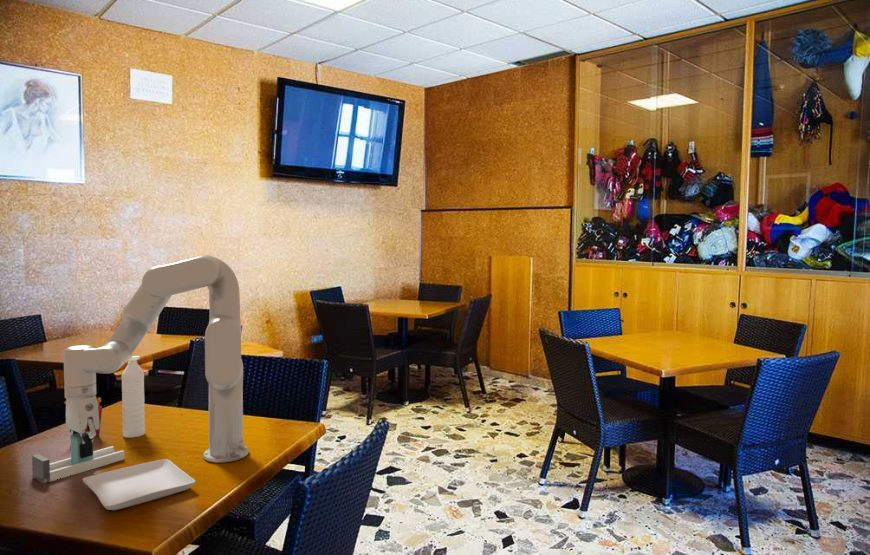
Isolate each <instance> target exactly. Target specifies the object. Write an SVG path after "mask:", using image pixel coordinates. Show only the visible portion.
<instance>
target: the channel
mask: <svg viewBox="0 0 870 555" xmlns="http://www.w3.org/2000/svg"><path fill="white" fill-rule="evenodd" d="M124 460H125V450H123V449H122V450H120V451H119V450H118V451H115V447H114V445H112V446H108V447H104V448H101V449H97V450H93V459H91V460H87V461H84V462H81V463H77V464H72V463H71V457H68V458H65V459H61V460H57V461H54V462H50V459H49V458H47V457H46V456H43V455H41V454H40V453H37V454H36V453H35V454H33V455H31V461H32V462H31V465H32V467H31V468H32V470H31V471H32V478H33V477H34V478H33V479H35V480H36V479H37V481H38V482H39V483H42V485H44V484H47V482H48V483H50V482H54V481H58V480H60V478H61V479H64V478H68V477H70V475H71V476H74V475H77V474H80V473H83V472H87V471H89V470H90V471H91V470H93V469H97V468H100V467H103V466H107V465H109V464H110V465H111V464H113V463H117V462H120V461H124ZM57 479H58V480H57Z"/></svg>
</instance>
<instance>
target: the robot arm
mask: <svg viewBox="0 0 870 555" xmlns="http://www.w3.org/2000/svg"><path fill="white" fill-rule="evenodd" d="M234 272H235V271H233V269H232V268H231V267H230V266H229V265H228V264H227V263H226V262H224V261H223V260H221V259H220V258H218V257H215V256H212V255H208V254H207V255H206V254H205V255H204V254H203V255H199V256H197V257H192V258H189V259H185V260H184V259H183V260H180V261H177V262H174V263H169V264H165V265H164V264H163V265H156V266H153V267H151V268H149V269H148V270H146V272H145V273H144V274H143V276H142V279H141V284H140V285H139V287H138V288H137V290H136V291H135V293H134V294H133V295H132V297H131V298H130V300H129V301H128V303H126V305H125V307H124V308H123V312H122V314H123V315H122V318H121V321H120V322H119V324H118V326H117V328H116V329H115V331H114V332H113V334H112V335H111V336H110V338H109V339H108V341H107V342H106V343H105V344H104V345H103V346H100V347H97V348H95V347H94V346H93V345H89V344H88V345H87V344H86V345H85V344H81V345H80V344H79V345H72V346H69V347H66V348H65V349H64V351H63V377H64V378H63V379H64V380H63V381H64V387H63V388H64V398H65V401H66V404H65V425H66V428H67V429H69V433H70V435H72V434H76V433H80V439H81V444H80V458H85V457H89V456H92V455H93V451H94V439H95V438H94V436H96V432H95V430H98V429H99V427H100V428H101V425H100V426H99V412H98V404H97V399H98V398H97V374H113V373H115V372H117V371H118V370H119V369H120V368H121V367H123V365H125V364H126V363H128V362H129V359H131V358H130V357H132V356H133V354H134V352H135V351H136V349H137V347H138V346H139V344H140V343H141V342H142V341H143V338H144V337H145V335H146V334H147V332H148V331H149V330H150V328H152V326H153V325H154V323H155V322H156V320H157V319H158V317H159V316H160V314H161V312H162V311H163V309H164V308H165V306H166V305H167V303H168V302H169V301H170V299H171V298H172V296H175V295H179V294H182V293H186V292H190V291H193V290H198V289H202V288H205V287H206V288H207V289H208V297H209V298H208V305H209V317H208V318H209V321H208V325H207V327H206V329H205V333H204V365H205V366H204V370H205V371H204V372H205V374H204V375H205V379H206V381H207V383H208V449H206V450H205V451H203V459H204V460H205V461H207V462H210V463H231V462H235V461H238V460H241V459H244V458H245V457H246V456H247V455H248V454H249V451H250V449H249V448H248V447H247V446H245V440H244V422H243V421H244V420H243V419H244V407H243V406H244V404H243V402H244V400H243V399H244V398H243V395H244V393H243V392H244V390H243V389H244V388H243V387H244V386H243V385H244V382H243V381H244V363H243V359H242V333H243V332H242V331H243V330H242V323H241V322H242V321H241V301H240V300H241V299H240V284H239V281H238V278H237V276H236V274H235V273H234ZM86 429H88V431H86V432H85V430H86ZM85 434H88V435H86V436H85V438H84V435H85ZM93 438H94V439H93Z"/></svg>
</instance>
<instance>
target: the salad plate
mask: <svg viewBox="0 0 870 555" xmlns="http://www.w3.org/2000/svg"><path fill="white" fill-rule="evenodd" d="M82 481H83V483H84V484H85V485H86V486H87V487H88V488H89V489H90V490H91V491H92V492H93V493H94V494H95V495H96V497H97V498H98V500H99V502H100V504H101V505H102V506H103V508H105V510H111V511H117V510H122V509H126V508H130V507H133V506H137V505H140V504H141V505H142V504H143V503H147V502H151V501H154V500H157V499H161V498H164V497H168V496H171V495H174V494H177V493H181V492H183V491H185V490H189V489H190V488H191V487H193V485H195V484H196V480H195V479H194V478H193V477H191V476H190V475H189V474H188V473H187V472H185V471H183V470H182V469H181V468H179V467H178V466H177V465H176V464H175V463H174V462H173V461H171V460H170V459H167V458H163V459H158V460H154V461H153V460H152V461H149V462H143V463H139V464H135V465H130V466H127V467H122V468H118V469H113V470H110V471H105V472H102V473H98V474H94V475H89V476H86V477H83V478H82Z"/></svg>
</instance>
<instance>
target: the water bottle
mask: <svg viewBox="0 0 870 555" xmlns="http://www.w3.org/2000/svg"><path fill="white" fill-rule="evenodd" d="M130 357H131V358H129V359H128V361H127V365H126V366H125V369H124V370H123V371H122V373H121V392H122V393H121V397H122V398H121V402H122V403H121V404H122V405H121V406H122V407H121V408H122V409H121V410H122V412H121V413H122V436H123V438H127V439H128V438H130V439H132V438H139V437H141V436H144V435H145V434H146V426H145V425H146V421H145V418H146V417H145V416H146V414H145V374H144V370H143V368H141V366H140V365H139V364H138V360H141V356H140V355H134V356H133V355H131V356H130Z"/></svg>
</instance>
